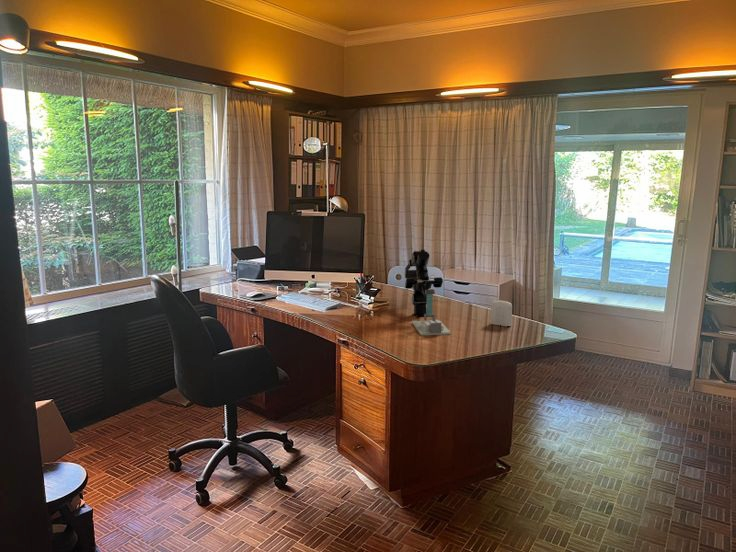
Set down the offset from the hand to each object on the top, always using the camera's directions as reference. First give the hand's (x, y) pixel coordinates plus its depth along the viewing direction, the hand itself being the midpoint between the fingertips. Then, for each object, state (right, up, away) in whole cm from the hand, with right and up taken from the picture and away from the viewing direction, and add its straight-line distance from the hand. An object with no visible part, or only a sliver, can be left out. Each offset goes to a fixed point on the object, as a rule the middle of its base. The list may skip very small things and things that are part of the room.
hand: (426, 296), depth 268 cm
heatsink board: (+1, -15, -9) cm, 18 cm away
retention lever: (+1, -9, -7) cm, 11 cm away
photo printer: (+37, -14, -4) cm, 39 cm away
